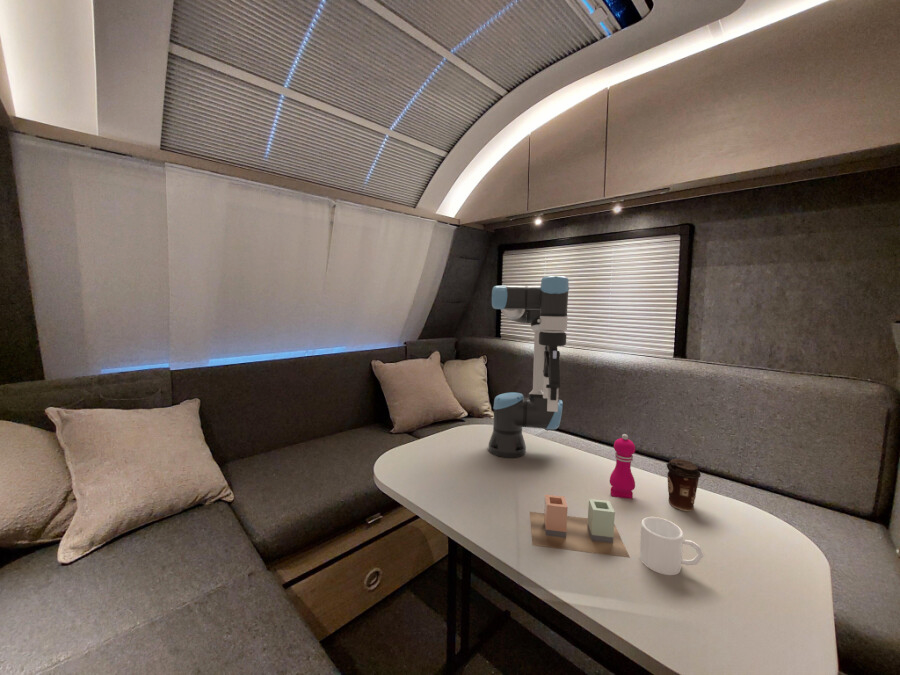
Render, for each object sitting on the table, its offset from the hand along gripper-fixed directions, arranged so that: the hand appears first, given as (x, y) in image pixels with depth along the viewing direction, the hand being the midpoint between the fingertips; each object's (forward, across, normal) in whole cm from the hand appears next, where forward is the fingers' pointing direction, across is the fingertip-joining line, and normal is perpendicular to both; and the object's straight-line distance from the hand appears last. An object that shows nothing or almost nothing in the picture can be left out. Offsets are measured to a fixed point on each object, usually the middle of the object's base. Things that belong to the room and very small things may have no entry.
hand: (549, 404), depth 102 cm
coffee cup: (+31, -8, +40) cm, 51 cm away
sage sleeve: (+29, +14, +12) cm, 35 cm away
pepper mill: (+31, -10, +24) cm, 40 cm away
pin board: (+31, +14, +6) cm, 34 cm away
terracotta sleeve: (+29, +14, +1) cm, 32 cm away
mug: (+31, +22, +25) cm, 45 cm away
